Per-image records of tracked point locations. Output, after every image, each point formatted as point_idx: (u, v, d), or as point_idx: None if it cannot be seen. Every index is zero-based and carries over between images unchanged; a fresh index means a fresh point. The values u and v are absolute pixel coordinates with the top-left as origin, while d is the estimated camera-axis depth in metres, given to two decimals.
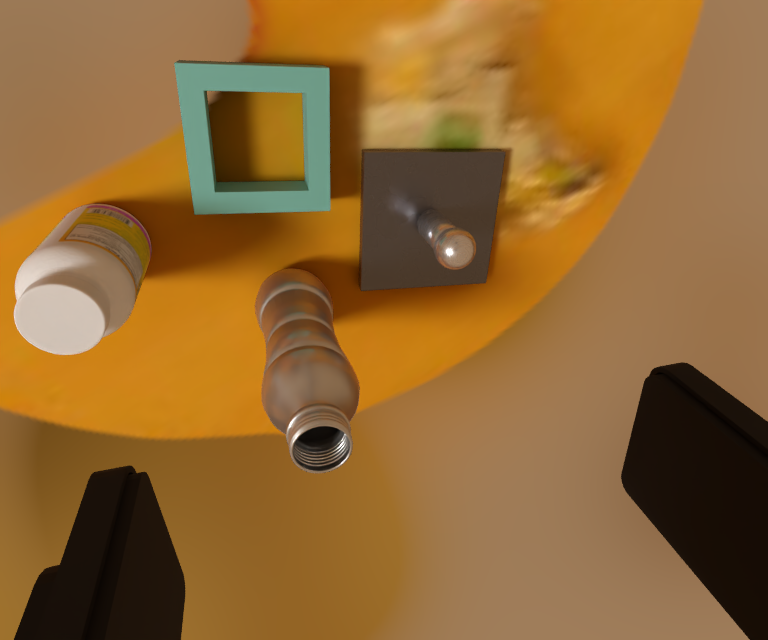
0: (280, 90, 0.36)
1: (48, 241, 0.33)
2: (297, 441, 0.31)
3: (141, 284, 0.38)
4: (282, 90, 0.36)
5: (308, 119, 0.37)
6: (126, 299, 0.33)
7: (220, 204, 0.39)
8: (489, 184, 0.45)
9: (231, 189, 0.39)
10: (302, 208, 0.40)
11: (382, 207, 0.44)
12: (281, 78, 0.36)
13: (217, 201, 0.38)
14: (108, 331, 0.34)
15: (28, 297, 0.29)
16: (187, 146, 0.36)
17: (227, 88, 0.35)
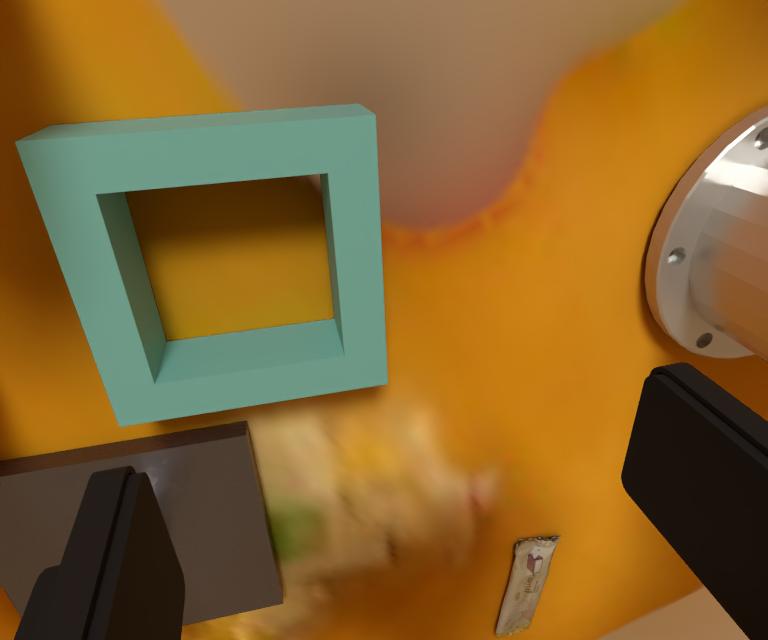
0: (343, 314, 0.19)
1: None
2: None
3: None
4: (344, 317, 0.19)
5: (298, 364, 0.20)
6: None
7: (64, 208, 0.15)
8: (228, 602, 0.28)
9: (112, 223, 0.17)
10: (110, 377, 0.18)
11: None
12: (364, 313, 0.19)
13: (72, 200, 0.15)
14: None
15: None
16: (199, 133, 0.15)
17: (337, 220, 0.17)
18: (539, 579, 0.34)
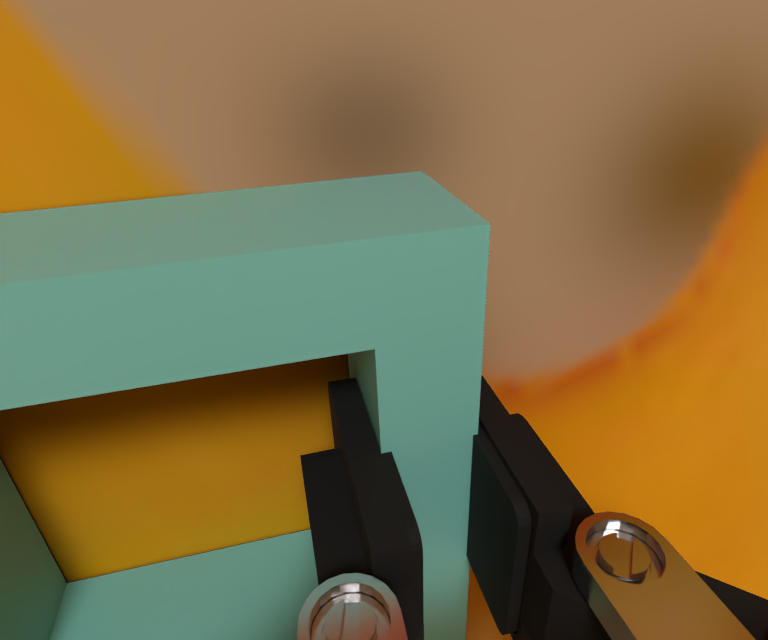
0: None
1: None
2: None
3: None
4: None
5: None
6: None
7: None
8: None
9: None
10: None
11: None
12: (431, 571, 0.10)
13: None
14: None
15: None
16: (55, 289, 0.06)
17: (390, 433, 0.08)
18: None
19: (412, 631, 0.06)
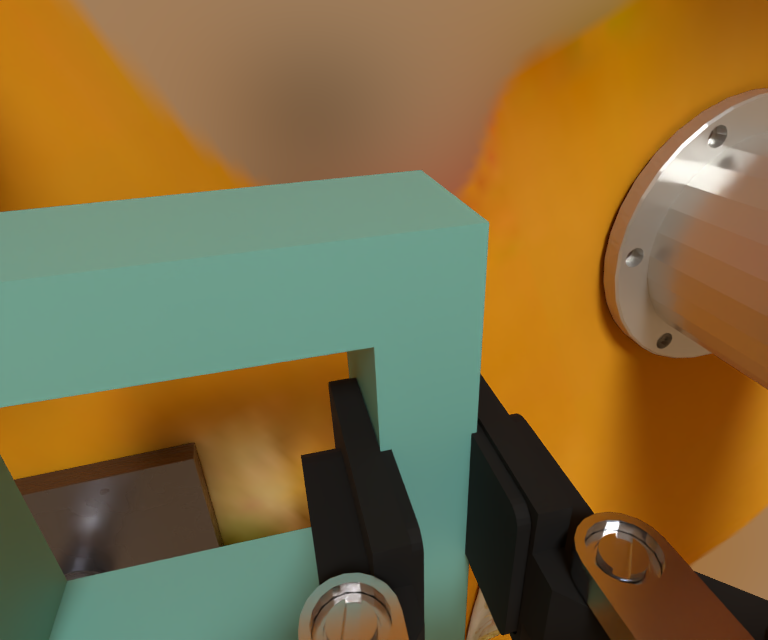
0: None
1: None
2: None
3: None
4: None
5: None
6: None
7: None
8: None
9: None
10: None
11: (87, 513, 0.21)
12: (431, 569, 0.10)
13: None
14: None
15: None
16: (56, 286, 0.06)
17: (389, 430, 0.08)
18: None
19: (413, 631, 0.06)
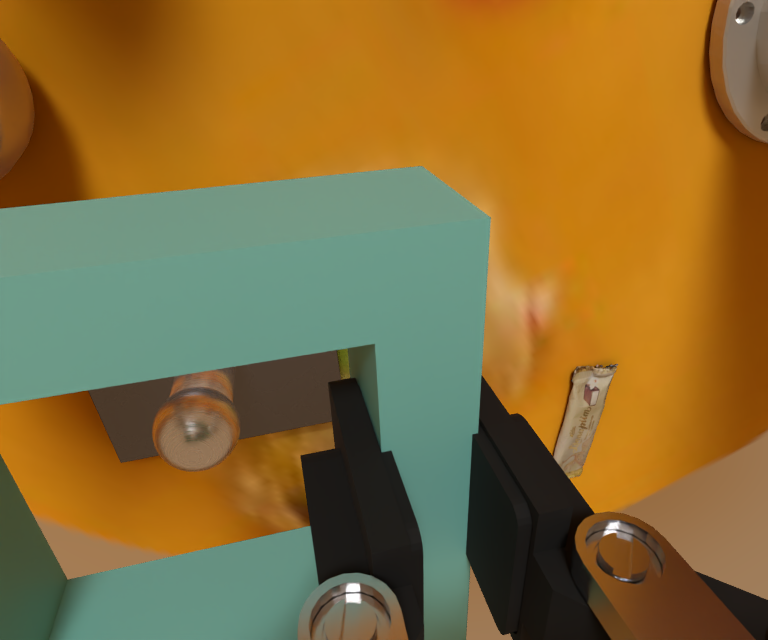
0: None
1: None
2: None
3: None
4: None
5: None
6: None
7: None
8: (294, 413, 0.28)
9: None
10: None
11: None
12: (432, 567, 0.10)
13: None
14: None
15: None
16: (54, 282, 0.06)
17: (390, 428, 0.08)
18: (595, 414, 0.34)
19: (412, 631, 0.06)
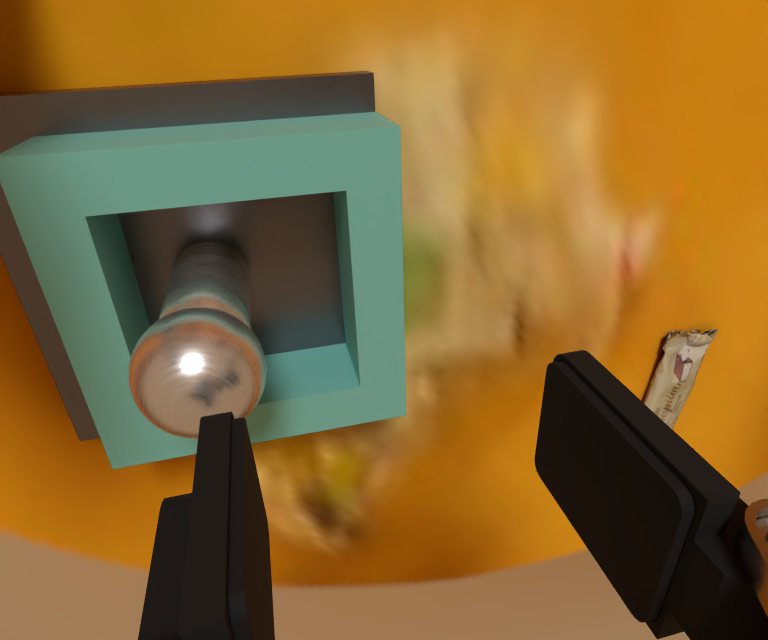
0: (360, 342, 0.17)
1: None
2: None
3: None
4: (360, 346, 0.17)
5: (310, 397, 0.18)
6: None
7: (50, 232, 0.13)
8: None
9: (104, 248, 0.15)
10: (102, 417, 0.16)
11: None
12: (382, 341, 0.17)
13: (58, 223, 0.13)
14: None
15: None
16: (203, 147, 0.13)
17: (355, 241, 0.16)
18: (683, 393, 0.27)
19: None
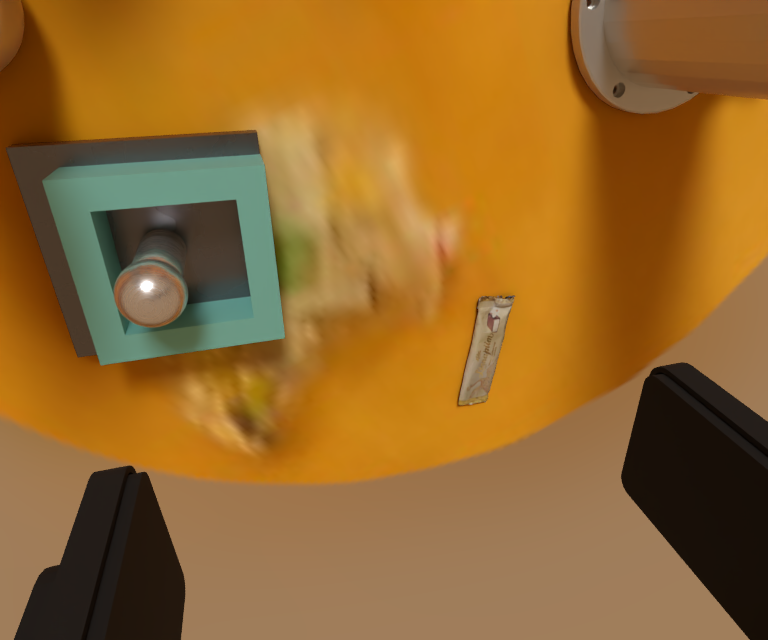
0: (251, 289, 0.29)
1: None
2: None
3: None
4: (252, 291, 0.29)
5: (222, 323, 0.30)
6: None
7: (70, 220, 0.25)
8: None
9: (99, 229, 0.26)
10: (95, 330, 0.28)
11: None
12: (265, 289, 0.29)
13: (75, 215, 0.25)
14: None
15: None
16: (154, 175, 0.25)
17: (243, 228, 0.27)
18: (497, 341, 0.40)
19: None
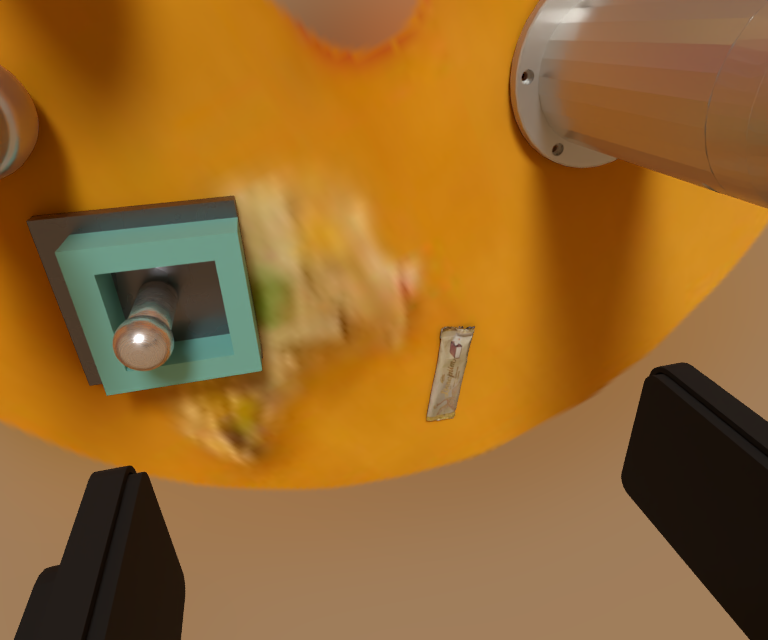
0: (231, 331, 0.34)
1: None
2: None
3: None
4: (231, 333, 0.34)
5: (207, 360, 0.35)
6: None
7: (78, 281, 0.31)
8: None
9: (102, 287, 0.32)
10: (101, 367, 0.33)
11: None
12: (242, 331, 0.34)
13: (82, 278, 0.31)
14: None
15: None
16: (146, 244, 0.30)
17: (222, 283, 0.33)
18: (460, 365, 0.45)
19: None
